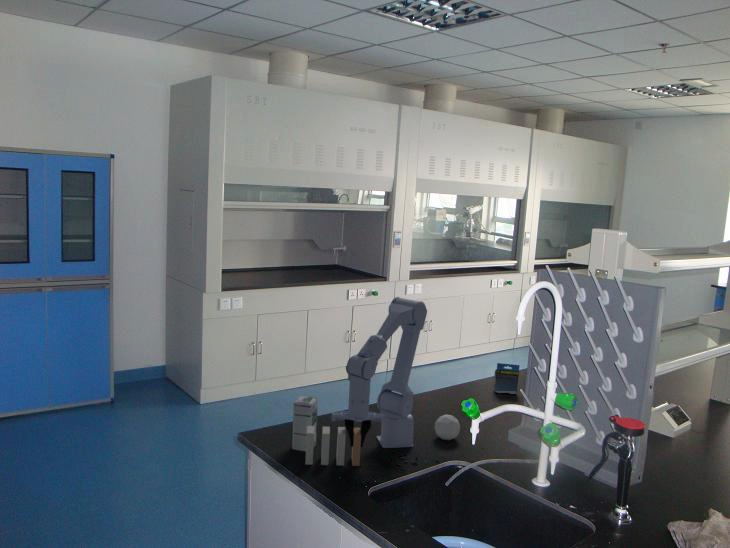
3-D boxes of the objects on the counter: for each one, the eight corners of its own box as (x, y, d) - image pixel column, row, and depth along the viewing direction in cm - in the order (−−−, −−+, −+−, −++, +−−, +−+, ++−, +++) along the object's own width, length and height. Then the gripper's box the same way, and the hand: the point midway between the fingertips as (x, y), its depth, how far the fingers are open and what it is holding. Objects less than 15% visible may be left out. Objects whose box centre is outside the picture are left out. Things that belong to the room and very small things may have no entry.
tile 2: (343, 457, 167) (345, 427, 165) (343, 465, 162) (345, 434, 161) (336, 457, 167) (338, 426, 165) (336, 465, 162) (338, 434, 160)
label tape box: (515, 392, 233) (518, 362, 231) (517, 395, 229) (520, 365, 227) (492, 390, 233) (495, 360, 232) (494, 393, 229) (496, 363, 228)
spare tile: (358, 457, 167) (360, 427, 166) (359, 466, 162) (361, 434, 161) (351, 457, 167) (353, 427, 166) (352, 465, 162) (353, 434, 161)
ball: (446, 444, 186) (455, 420, 189) (458, 445, 179) (468, 421, 182) (426, 433, 185) (436, 409, 188) (438, 434, 177) (448, 409, 180)
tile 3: (328, 456, 166) (329, 426, 165) (328, 465, 161) (329, 433, 160) (321, 456, 166) (322, 426, 165) (320, 464, 161) (322, 433, 160)
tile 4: (313, 456, 166) (314, 426, 165) (312, 464, 161) (314, 433, 160) (305, 456, 166) (307, 426, 165) (305, 464, 161) (306, 433, 160)
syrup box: (310, 452, 169) (313, 404, 167) (291, 449, 170) (293, 401, 168) (316, 444, 174) (318, 397, 172) (297, 441, 175) (299, 394, 173)
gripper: (332, 403, 157) (330, 451, 159) (386, 404, 159) (383, 452, 160) (332, 394, 164) (330, 440, 166) (384, 395, 166) (381, 441, 167)
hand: (356, 445), depth 164 cm, fingers closed on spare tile, 2 cm apart
